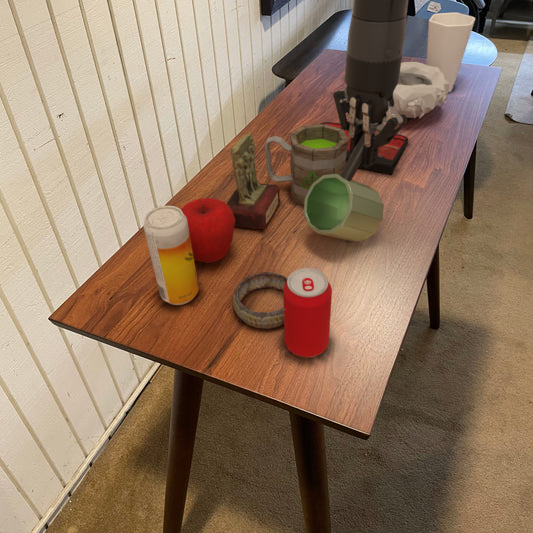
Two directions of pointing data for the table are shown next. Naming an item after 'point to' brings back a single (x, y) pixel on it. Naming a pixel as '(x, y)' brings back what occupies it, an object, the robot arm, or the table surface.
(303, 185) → the mug
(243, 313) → the decorative ring
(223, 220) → the apple
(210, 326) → the table surface
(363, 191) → the pot
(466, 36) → the cup
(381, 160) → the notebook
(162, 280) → the beer can
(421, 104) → the bowl
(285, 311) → the beverage can
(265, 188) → the sculpture
